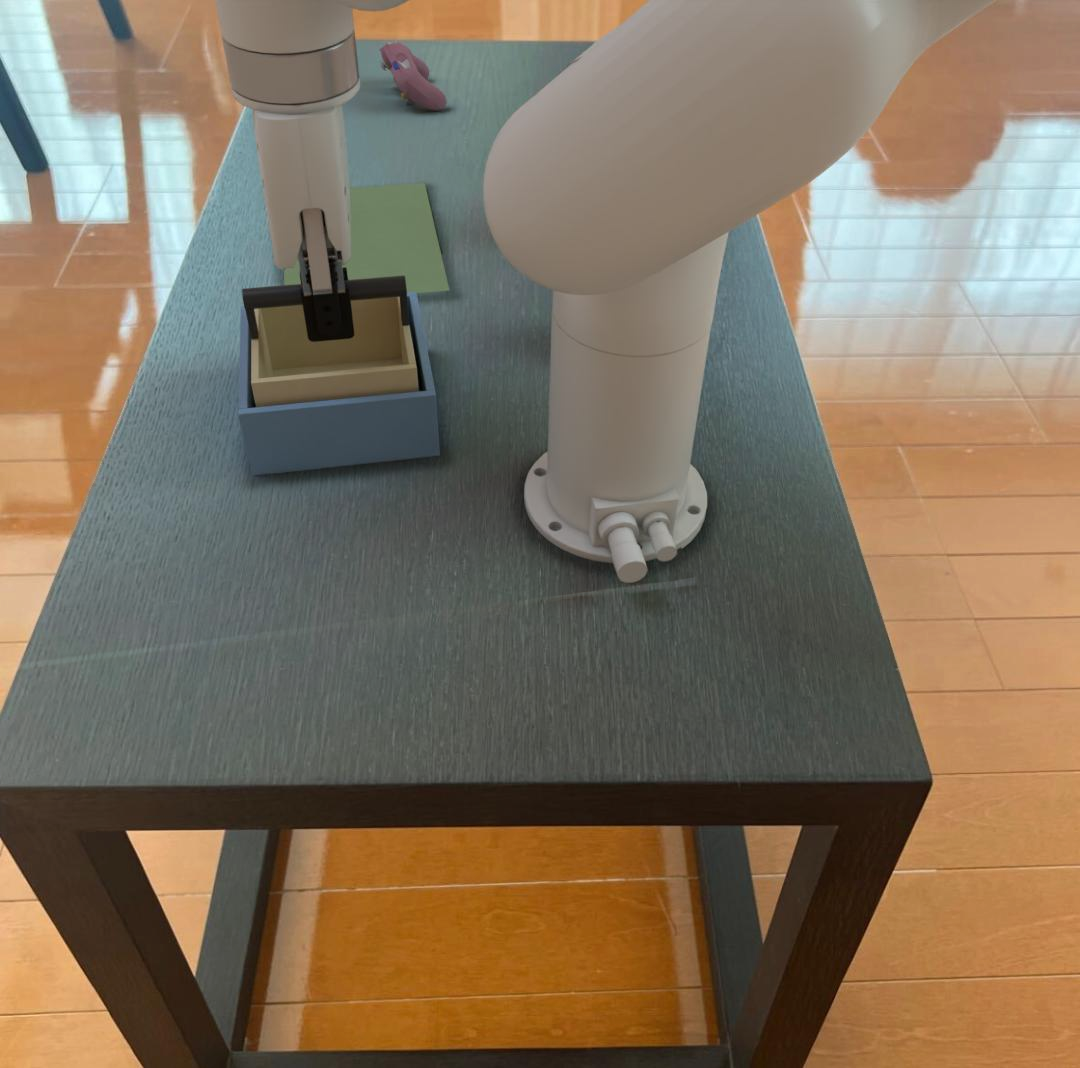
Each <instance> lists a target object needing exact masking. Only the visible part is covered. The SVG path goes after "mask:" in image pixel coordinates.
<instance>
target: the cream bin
mask: <svg viewBox="0 0 1080 1068" xmlns="http://www.w3.org/2000/svg"><path fill="white" fill-rule="evenodd" d="M344 284H345V285H347V284H348V285H349V293H350V301H351V308H352V318H353V326H354V336H353V338H350V339H341V340H330V341H318V342H312V341H310V340H309V339H308V335H307V329H306V323H305V317H304V311H303V304H302V298H301V291H300V288H303V286H302V284H294V285H284V284H283V285H270V286H259V287H257V286H256V287H246V288H242V289H241V295H242V304H243V306H244V308H245V311H246V315H247V320H248V325H249V330H250V335H251V339H252V343H251V385H252V390H253V395H254V399H255V404H256V407H265V406H276V405H286V404H296V403H306V402H317V401H327V400H337V399H347V398H358V397H368V396H378V395H388V394H399V393H409V392H419V390H418V377H417V366H416V361H415V355H414V349H413V344H412V338H411V332H410V326H409V315H408V302H407V287H406V279H405V276H391V277H379V278H367V279H355V280H344Z"/></svg>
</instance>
